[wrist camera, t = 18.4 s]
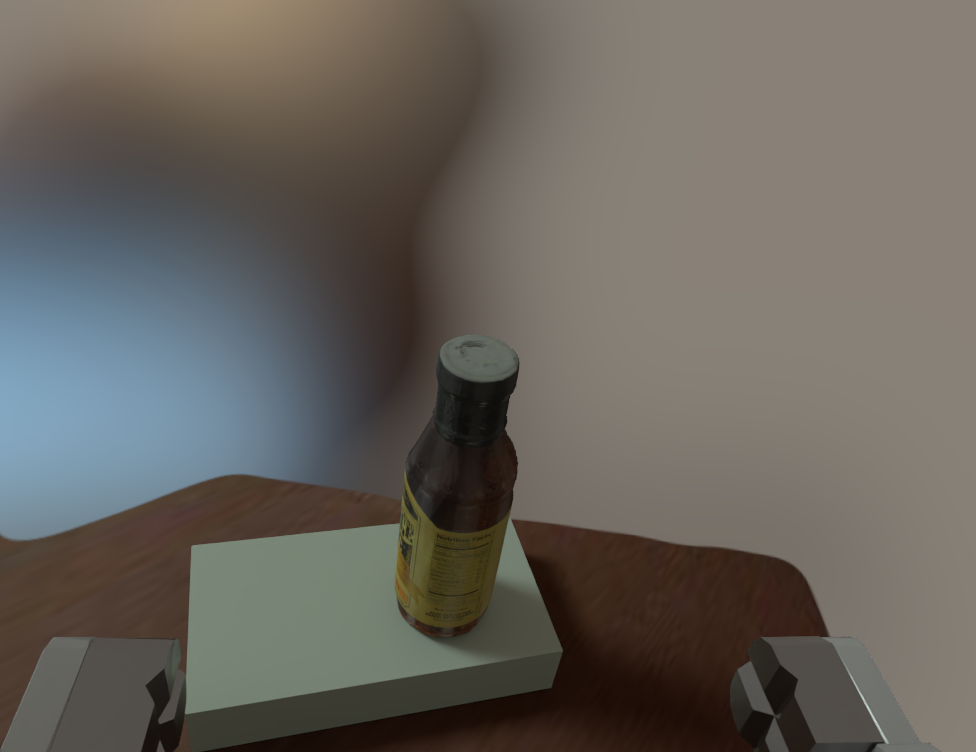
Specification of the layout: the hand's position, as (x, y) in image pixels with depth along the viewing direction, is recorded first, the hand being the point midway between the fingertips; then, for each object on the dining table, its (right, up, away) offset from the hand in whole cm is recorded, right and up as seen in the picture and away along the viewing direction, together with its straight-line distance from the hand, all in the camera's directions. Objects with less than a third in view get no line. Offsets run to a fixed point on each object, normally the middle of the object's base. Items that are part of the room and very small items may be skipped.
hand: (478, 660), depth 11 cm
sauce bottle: (-3, -11, +38) cm, 40 cm away
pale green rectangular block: (-8, -13, +40) cm, 43 cm away
